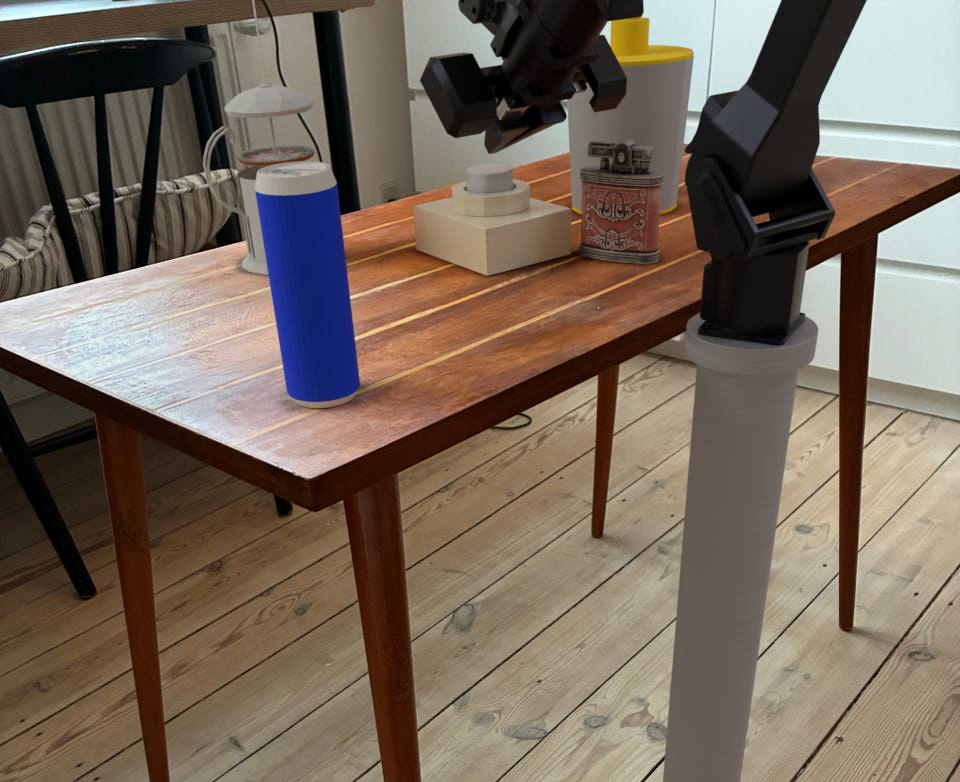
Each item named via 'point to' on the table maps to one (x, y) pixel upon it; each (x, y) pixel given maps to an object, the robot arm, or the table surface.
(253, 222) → the french press
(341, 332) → the beverage can
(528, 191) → the push button base
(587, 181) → the lighter
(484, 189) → the grey push button
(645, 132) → the white tapered piece
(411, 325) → the table surface
